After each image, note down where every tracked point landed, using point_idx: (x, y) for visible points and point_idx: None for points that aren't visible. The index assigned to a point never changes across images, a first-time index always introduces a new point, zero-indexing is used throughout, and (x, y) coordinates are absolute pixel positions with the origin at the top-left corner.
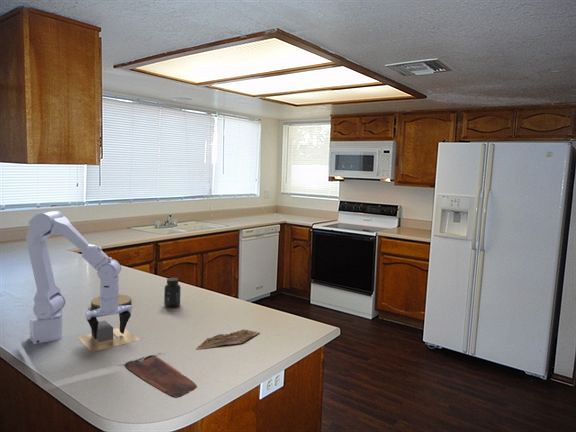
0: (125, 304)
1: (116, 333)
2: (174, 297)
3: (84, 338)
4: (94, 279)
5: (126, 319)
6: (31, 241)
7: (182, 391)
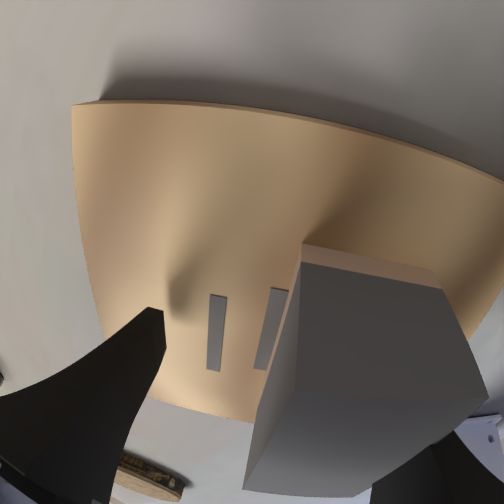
0: None
1: (188, 358)
2: None
3: None
4: (141, 500)
5: (43, 405)
6: None
7: None
